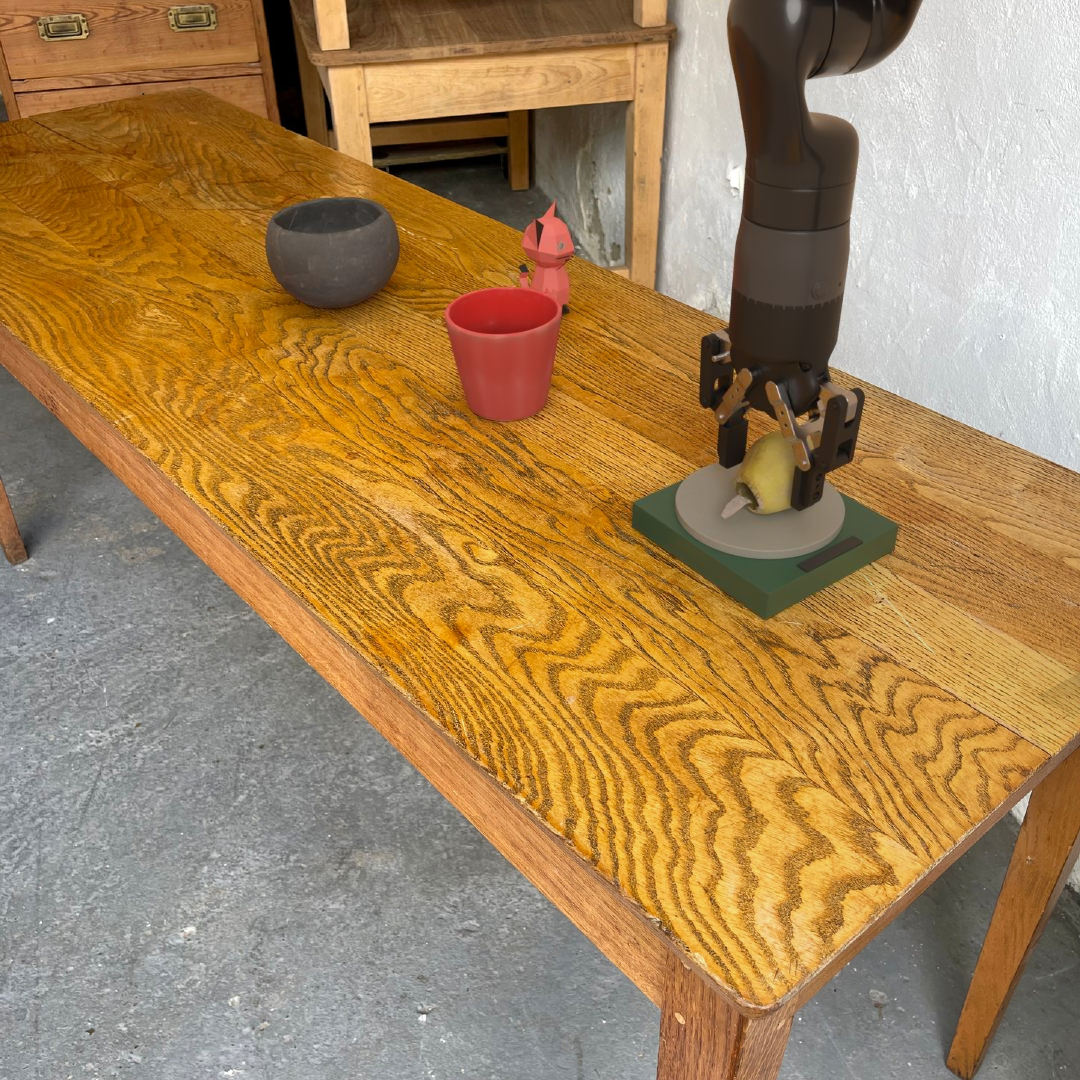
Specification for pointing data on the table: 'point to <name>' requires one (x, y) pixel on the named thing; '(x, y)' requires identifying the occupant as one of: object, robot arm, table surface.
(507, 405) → the flower pot
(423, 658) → the table surface
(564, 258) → the cat figurine
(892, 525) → the scale
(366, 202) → the bowl
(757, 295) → the robot arm
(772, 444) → the fruit
